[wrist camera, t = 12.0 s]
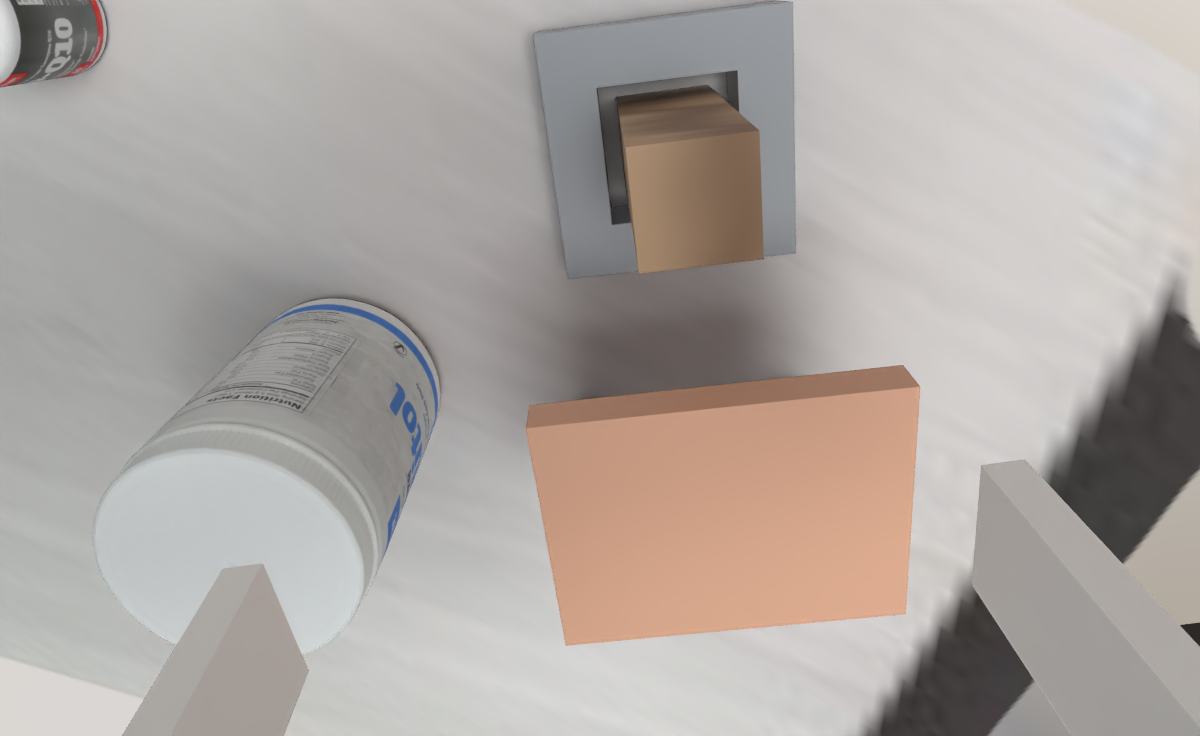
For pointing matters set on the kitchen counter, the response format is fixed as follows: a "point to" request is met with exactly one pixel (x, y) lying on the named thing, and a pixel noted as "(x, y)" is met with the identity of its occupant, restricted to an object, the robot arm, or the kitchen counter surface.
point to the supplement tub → (277, 473)
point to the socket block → (656, 52)
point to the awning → (728, 504)
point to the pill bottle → (49, 39)
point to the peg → (690, 179)
